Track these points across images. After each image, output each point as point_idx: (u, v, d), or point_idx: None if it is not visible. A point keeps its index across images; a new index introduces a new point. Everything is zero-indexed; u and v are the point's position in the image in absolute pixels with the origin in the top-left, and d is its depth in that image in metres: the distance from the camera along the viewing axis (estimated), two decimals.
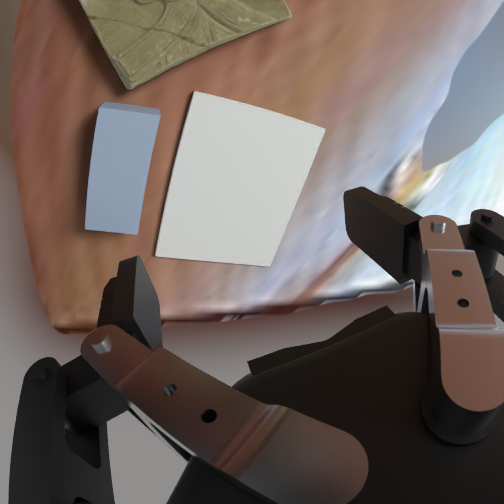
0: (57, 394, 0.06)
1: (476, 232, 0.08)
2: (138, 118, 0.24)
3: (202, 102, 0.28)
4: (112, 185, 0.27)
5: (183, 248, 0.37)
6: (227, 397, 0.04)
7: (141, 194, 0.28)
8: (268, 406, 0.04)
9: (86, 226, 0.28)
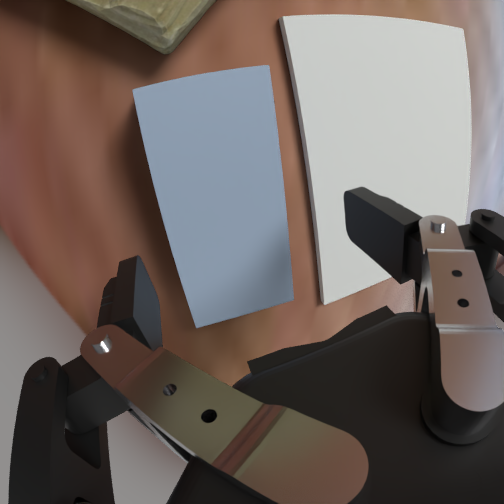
0: (57, 394, 0.06)
1: (476, 232, 0.08)
2: (226, 81, 0.11)
3: (304, 30, 0.14)
4: (221, 233, 0.14)
5: (360, 275, 0.22)
6: (227, 397, 0.04)
7: (283, 229, 0.15)
8: (268, 406, 0.04)
9: (197, 322, 0.16)
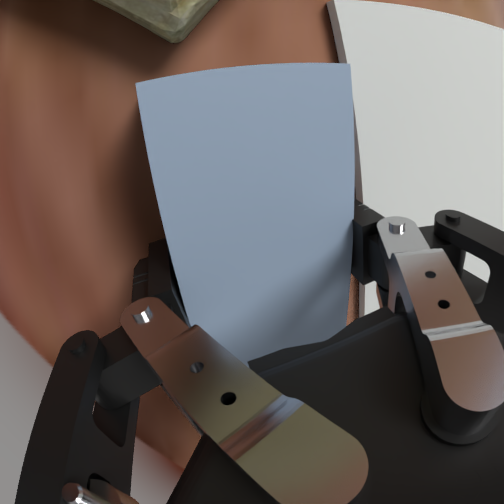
0: (92, 369, 0.06)
1: (442, 235, 0.08)
2: (288, 81, 0.07)
3: (360, 20, 0.10)
4: (263, 306, 0.10)
5: None
6: (250, 383, 0.05)
7: (343, 296, 0.11)
8: (268, 406, 0.04)
9: None
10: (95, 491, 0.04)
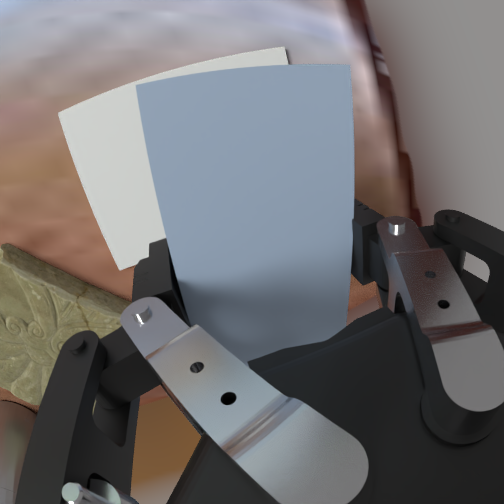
0: (92, 369, 0.06)
1: (442, 235, 0.08)
2: (288, 83, 0.07)
3: (123, 257, 0.27)
4: (264, 307, 0.10)
5: None
6: (250, 383, 0.05)
7: (343, 296, 0.11)
8: (268, 406, 0.04)
9: None
10: (95, 491, 0.04)
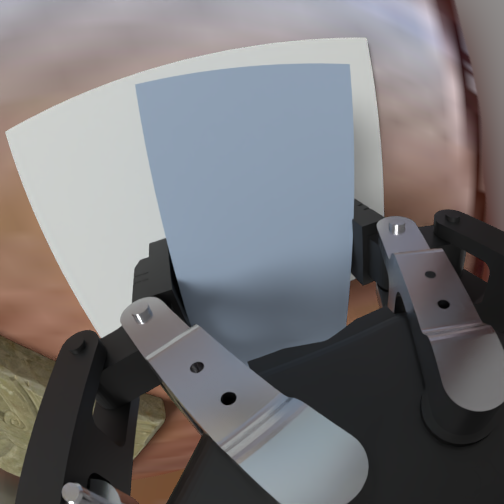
0: (92, 369, 0.06)
1: (442, 235, 0.08)
2: (288, 82, 0.07)
3: None
4: (263, 307, 0.10)
5: None
6: (250, 383, 0.05)
7: (343, 296, 0.11)
8: (268, 406, 0.04)
9: None
10: (95, 491, 0.04)
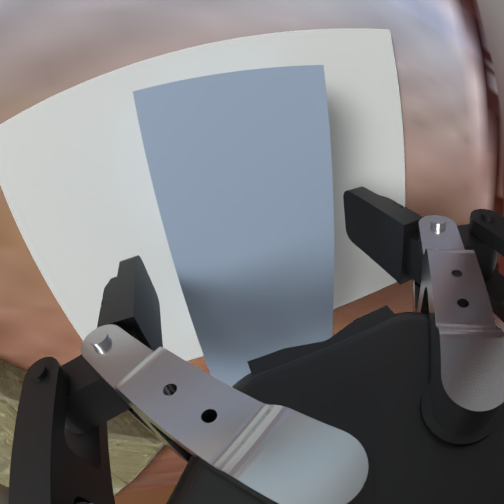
0: (57, 394, 0.06)
1: (476, 232, 0.08)
2: (267, 84, 0.08)
3: None
4: (253, 287, 0.11)
5: None
6: (227, 397, 0.04)
7: (328, 278, 0.12)
8: (268, 406, 0.04)
9: None
10: None
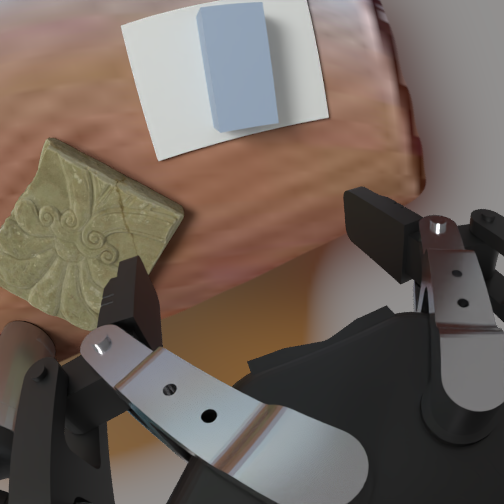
0: (57, 394, 0.06)
1: (476, 232, 0.08)
2: (242, 7, 0.22)
3: (163, 149, 0.30)
4: (238, 75, 0.25)
5: (312, 92, 0.31)
6: (227, 397, 0.04)
7: (270, 77, 0.26)
8: (268, 406, 0.04)
9: (221, 128, 0.27)
10: None
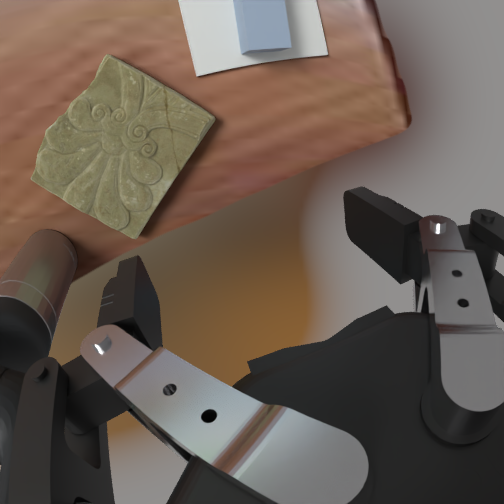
0: (57, 394, 0.06)
1: (476, 232, 0.08)
2: None
3: (202, 67, 0.36)
4: (262, 13, 0.31)
5: (315, 35, 0.37)
6: (227, 397, 0.04)
7: (285, 16, 0.31)
8: (268, 406, 0.04)
9: (250, 47, 0.33)
10: None
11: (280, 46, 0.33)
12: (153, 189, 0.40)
